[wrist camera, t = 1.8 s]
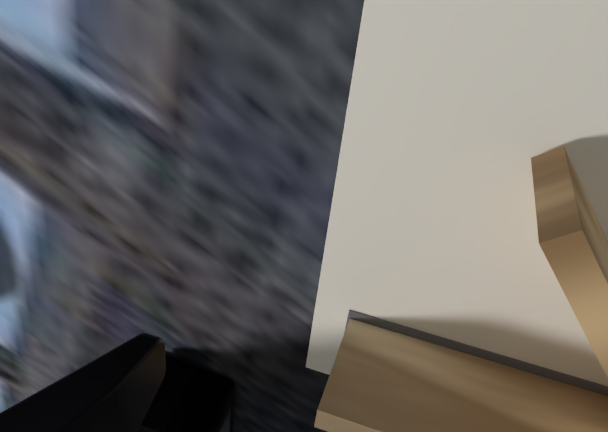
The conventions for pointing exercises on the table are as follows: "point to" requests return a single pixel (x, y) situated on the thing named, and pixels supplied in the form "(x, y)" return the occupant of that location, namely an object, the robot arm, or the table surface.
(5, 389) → the table surface
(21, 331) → the table surface
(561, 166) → the hinged fence panel
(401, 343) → the fixed fence panel
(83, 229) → the table surface
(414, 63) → the card
